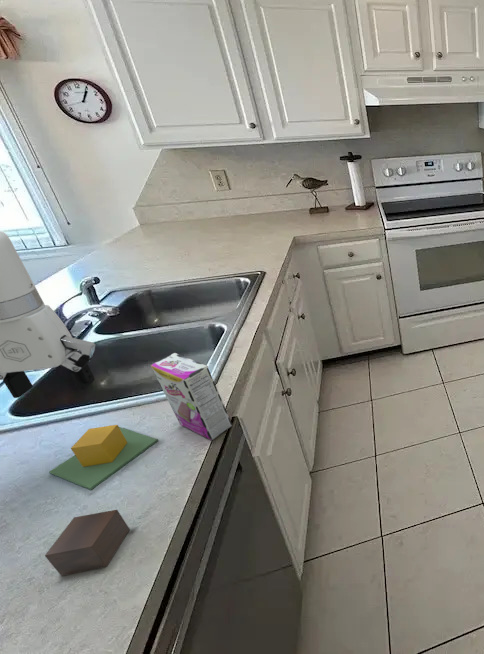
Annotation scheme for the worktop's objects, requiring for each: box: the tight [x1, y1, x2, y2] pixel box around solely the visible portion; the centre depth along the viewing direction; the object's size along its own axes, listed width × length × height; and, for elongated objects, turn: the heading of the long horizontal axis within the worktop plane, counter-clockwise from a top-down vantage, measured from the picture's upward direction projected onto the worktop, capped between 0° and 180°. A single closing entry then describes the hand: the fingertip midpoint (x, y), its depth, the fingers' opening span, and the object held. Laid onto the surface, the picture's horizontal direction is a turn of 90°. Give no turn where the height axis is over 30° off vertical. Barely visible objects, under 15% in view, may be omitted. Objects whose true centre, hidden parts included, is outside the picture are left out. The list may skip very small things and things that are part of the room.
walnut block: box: [44, 509, 131, 577], centre depth 64 cm, size 6×6×5 cm
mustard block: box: [70, 424, 127, 467], centre depth 81 cm, size 5×5×5 cm
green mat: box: [48, 426, 159, 491], centre depth 82 cm, size 12×12×1 cm
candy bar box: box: [150, 352, 233, 441], centre depth 85 cm, size 11×5×16 cm, turn 65°
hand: (56, 388), depth 74 cm, fingers open, 9 cm apart
